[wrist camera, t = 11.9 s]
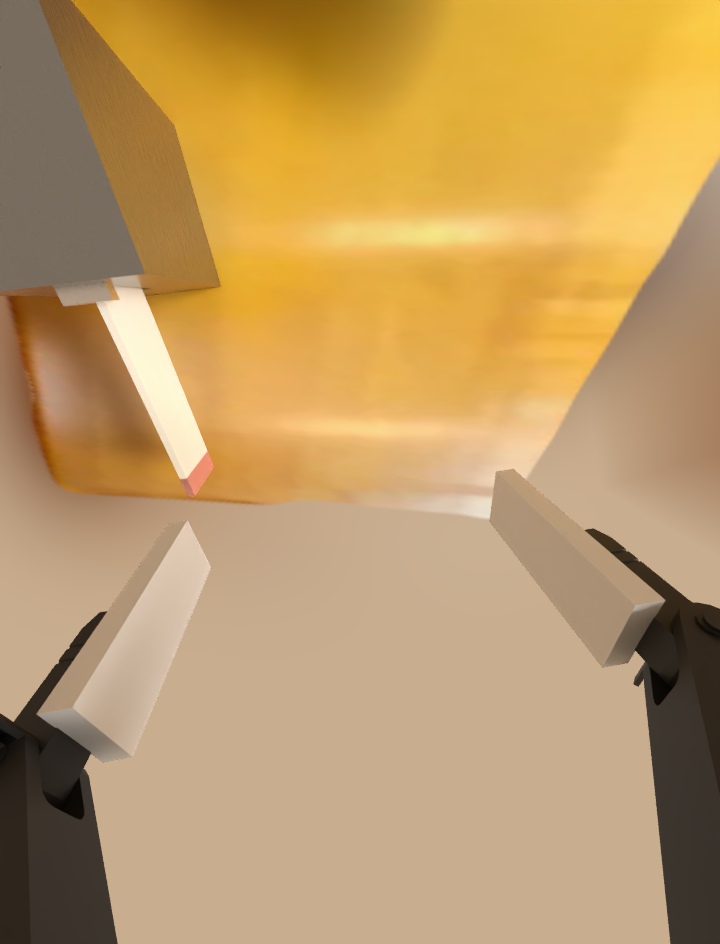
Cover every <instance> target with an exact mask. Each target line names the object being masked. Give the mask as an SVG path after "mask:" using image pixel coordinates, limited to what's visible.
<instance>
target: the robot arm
mask: <svg viewBox="0 0 720 944" xmlns="http://www.w3.org/2000/svg"><path fill="white" fill-rule="evenodd" d="M490 523H491V524H492V525H493V527H494V528H495V529H496V531H497V532H498V533H499V535H500V536H501V537H502V538H503V540H504V541H505V542H506V544H507V545H508V546H509V547H510V548H511V550H512V551H513V552H514V554H515V555H516V556H517V558H518V559H519V560H520V562H521V563H522V564H523V566H524V567H525V568H526V569H527V571H528V572H529V573H530V575H531V576H532V577H533V579H534V580H535V581H536V582H537V584H538V585H539V586H540V588H541V589H542V590H543V591H544V593H545V594H546V595H547V596H548V598H549V599H550V600H551V602H552V603H553V604H554V606H555V607H556V608H557V610H558V611H559V612H560V613H561V615H562V616H563V617H564V618H565V620H566V621H567V623H568V624H569V625H570V626H571V628H572V629H573V630H574V631H575V633H576V634H577V635H578V637H579V638H580V639H581V641H582V642H583V643H584V644H585V646H586V647H587V648H588V650H589V651H590V652H591V653H592V655H593V656H594V657H595V659H596V660H597V661H598V662H599V664H600V665H601V666H602V668H603V667H609V666H614V665H620V664H625V663H628V662H629V660H630V659H631V657H632V655H633V654H634V652H635V651H636V652H637V653H638V654H639V655H640V656H641V657H642V658H643V659H644V660H645V663H644V665H643V666H642V667H641V669H640V670H639V672H638V674H637V675H636V677H635V679H634V685H636V686H639V685H640V684H641V682H642V681H643V679H644V688H645V697H646V707H647V717H648V727H649V737H650V746H651V756H652V766H653V776H654V786H655V796H656V806H657V815H658V825H659V835H660V844H661V855H662V865H663V875H664V884H665V894H666V903H667V914H668V924H669V933H670V943H671V944H720V609H719V608H716V607H714V606H711V605H707V604H701V603H693V602H691V601H690V600H688V599H687V598H686V597H684V596H683V595H682V594H681V593H680V592H678V591H677V590H676V589H675V588H673V587H672V586H671V585H670V584H668V583H667V582H666V581H664V580H663V579H662V578H661V577H660V576H658V575H657V574H656V573H655V572H653V571H652V570H651V569H650V568H648V567H647V566H646V565H645V564H644V563H642V562H641V561H640V562H639V561H638V559H637V558H636V557H635V556H634V555H632V554H631V553H630V552H627V551H626V549H625V548H624V547H622V546H621V545H620V544H619V543H617V542H616V541H615V540H614V539H613V538H611V537H609V536H607V535H605V534H603V533H601V532H599V531H597V530H595V529H588V530H583V529H582V528H581V527H580V526H579V525H578V524H576V523H575V522H574V521H573V520H572V519H571V518H569V517H568V516H567V515H566V514H565V513H564V512H562V511H561V510H560V509H559V508H558V507H557V506H556V505H554V504H553V503H552V502H551V501H550V500H549V499H547V498H546V497H545V496H544V495H543V494H541V493H540V492H539V491H538V490H537V489H536V488H535V487H534V486H532V485H531V484H530V483H529V482H528V481H527V480H525V479H524V478H523V477H522V476H521V475H520V474H518V473H517V472H516V471H515V470H514V469H510V470H504V471H498V472H496V476H495V484H494V491H493V499H492V507H491V514H490ZM210 569H211V567H210V565H209V563H208V561H207V559H206V557H205V555H204V553H203V551H202V549H201V547H200V545H199V543H198V541H197V539H196V537H195V535H194V533H193V531H192V529H191V527H190V525H189V523H188V521H187V520H186V521H180V522H174V523H168V525H167V526H166V527H165V529H164V531H163V532H162V533H161V535H160V536H159V538H158V539H157V541H156V542H155V543H154V545H153V546H152V548H151V549H150V551H149V552H148V554H147V555H146V557H145V558H144V559H143V561H142V562H141V564H140V565H139V566H138V568H137V569H136V571H135V572H134V574H133V575H132V577H131V578H130V580H129V581H128V583H127V584H126V585H125V587H124V588H123V590H122V591H121V593H120V594H119V596H118V597H117V598H116V600H115V601H114V603H113V604H112V606H111V607H110V609H109V610H108V611H106V612H100V613H99V614H98V615H97V616H95V617H94V618H93V619H92V620H91V621H90V622H89V623H88V624H87V625H86V626H85V627H83V628H82V629H81V631H80V632H79V634H78V635H77V636H76V638H75V639H74V641H73V642H72V643H71V645H70V648H69V649H67V650H66V651H65V653H64V654H63V655H62V657H61V658H60V660H59V663H58V664H56V665H55V666H54V668H53V669H52V670H51V672H50V673H49V675H48V676H47V677H46V679H45V680H44V681H43V683H42V684H41V685H40V687H39V688H38V690H37V691H36V692H35V694H34V695H33V696H32V698H31V699H30V701H29V702H28V703H27V705H26V706H25V707H24V709H23V710H22V711H21V713H20V714H19V716H18V717H17V718H16V720H15V721H14V722H12V721H11V720H9V719H8V718H6V717H5V716H3V715H2V714H0V944H117V938H116V932H115V926H114V920H113V915H112V909H111V903H110V897H109V892H108V885H107V880H106V874H105V869H104V862H103V856H102V851H101V845H100V839H99V834H98V827H97V822H96V816H95V810H94V804H93V798H92V792H91V787H90V781H89V776H88V774H87V772H86V770H85V769H83V768H84V766H85V764H86V762H87V760H88V758H89V756H90V754H92V755H93V756H95V757H96V758H98V759H99V760H100V761H102V762H109V761H114V760H119V759H124V758H130V757H133V755H134V752H135V750H136V748H137V745H138V743H139V740H140V738H141V736H142V733H143V731H144V728H145V726H146V723H147V721H148V719H149V716H150V714H151V711H152V709H153V706H154V704H155V701H156V699H157V697H158V694H159V692H160V690H161V687H162V685H163V682H164V680H165V677H166V675H167V673H168V670H169V668H170V665H171V663H172V660H173V658H174V656H175V653H176V651H177V649H178V646H179V644H180V641H181V639H182V636H183V634H184V632H185V629H186V626H187V624H188V622H189V619H190V617H191V615H192V612H193V610H194V607H195V605H196V603H197V600H198V598H199V595H200V593H201V590H202V588H203V586H204V583H205V581H206V578H207V576H208V574H209V571H210Z"/></svg>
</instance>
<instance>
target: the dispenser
mask: <svg viewBox="0 0 720 944" xmlns="http://www.w3.org/2000/svg"><path fill="white" fill-rule="evenodd" d="M113 285H117V286H129V287H140V288H142V290H143V293H144V295H145V296H148V295H156V294H164V293H172V292H180V291H188V290H196V289H204V288H212V287H220V286H221V285H220V282H219V278H218V275H217V272H216V268H215V265H214V261H213V258H212V254H211V251H210V248H209V244H208V241H207V237H206V234H205V230H204V227H203V223H202V220H201V217H200V213H199V210H198V206H197V203H196V199H195V196H194V193H193V189H192V186H191V182H190V179H189V175H188V172H187V168H186V165H185V162H184V158H183V155H182V151H181V148H180V144H179V141H178V138H177V134H176V131H175V127H174V125H173V124H172V122H171V121H170V120H169V119H168V117H167V116H166V115H165V114H164V113H163V111H162V110H161V109H160V108H159V107H158V105H157V104H156V103H155V102H154V100H153V99H152V98H151V97H150V96H149V94H148V93H147V92H146V91H145V90H144V88H143V87H142V86H141V85H140V83H139V82H138V81H137V80H136V79H135V77H134V76H133V75H132V74H131V73H130V71H129V70H128V69H127V68H126V67H125V65H124V64H123V63H122V62H121V60H120V59H119V58H118V57H117V56H116V54H115V53H114V52H113V51H112V50H111V48H110V47H109V46H108V45H107V43H106V42H105V41H104V40H103V39H102V37H101V36H100V35H99V34H98V33H97V31H96V30H95V29H94V28H93V26H92V25H91V24H90V23H89V22H88V20H87V19H86V18H85V17H84V16H83V14H82V13H81V12H80V11H79V9H78V8H77V7H76V6H75V5H74V3H73V2H72V1H71V0H0V295H4V296H45V297H59V299H60V301H61V303H62V304H63V306H77V305H85V304H93V303H101V302H109V301H117V300H120V299H119V297H118V295H117V292H116V290H115V288H114V286H113Z"/></svg>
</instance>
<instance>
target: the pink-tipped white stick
mask: <svg viewBox="0 0 720 944" xmlns="http://www.w3.org/2000/svg"><path fill="white" fill-rule="evenodd" d="M113 286H114V288H115V290H116V292H117V295H118V297H119V299H120V300H117V301H109V302H101V303H96V304H97V306H98V308H99V310H100V313H101V315H102V317H103V319H104V321H105V323H106V325H107V327H108V329H109V331H110V333H111V336H112V338H113V340H114V342H115V344H116V346H117V348H118V350H119V352H120V354H121V356H122V359H123V361H124V363H125V365H126V367H127V369H128V371H129V373H130V375H131V377H132V380H133V382H134V384H135V386H136V388H137V390H138V392H139V394H140V396H141V398H142V400H143V403H144V405H145V407H146V409H147V411H148V413H149V415H150V417H151V419H152V421H153V423H154V426H155V428H156V430H157V432H158V434H159V436H160V438H161V440H162V442H163V444H164V446H165V449H166V451H167V453H168V455H169V457H170V459H171V461H172V463H173V465H174V467H175V469H176V472H177V474H178V476H179V478H180V480H181V483H182V485H183V487H184V489H185V491H186V493H187V495H188V497H191V496H195V495H196V494H197V492H198V491H199V489H200V487H201V486H202V484H203V483H204V481H205V480H206V478H207V477H208V475H209V474H210V472H211V471H212V469H213V468H214V466H213V463H212V461H211V458H210V456H209V453H208V451H207V449H206V446H205V444H204V441H203V439H202V436H201V434H200V432H199V429H198V427H197V424H196V422H195V419H194V417H193V414H192V412H191V409H190V407H189V404H188V402H187V399H186V397H185V394H184V392H183V389H182V387H181V384H180V382H179V379H178V377H177V374H176V372H175V370H174V367H173V365H172V362H171V360H170V357H169V355H168V352H167V350H166V347H165V345H164V342H163V340H162V337H161V335H160V332H159V330H158V327H157V325H156V322H155V320H154V317H153V315H152V313H151V310H150V308H149V305H148V303H147V300H146V298H145V295H144V293H143V290H142V288H140V287H129V286H117V285H113Z"/></svg>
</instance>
